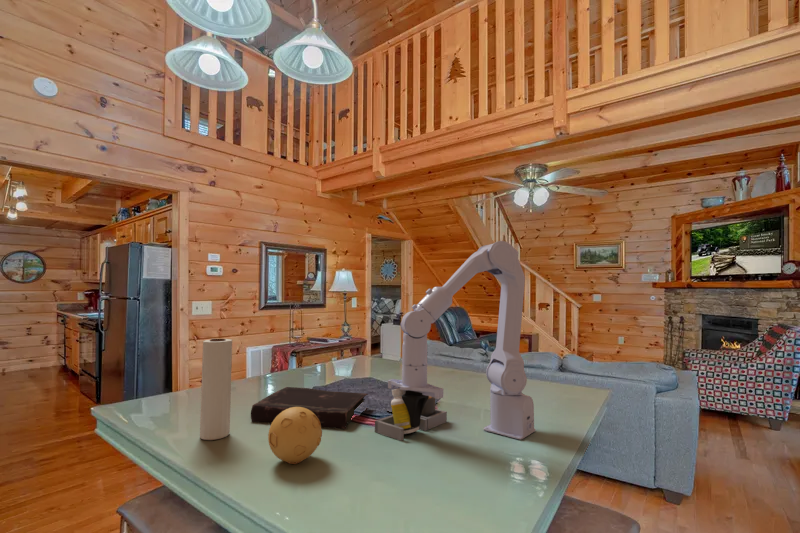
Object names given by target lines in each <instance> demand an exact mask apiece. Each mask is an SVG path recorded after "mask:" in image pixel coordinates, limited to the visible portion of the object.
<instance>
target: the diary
mask: <svg viewBox="0 0 800 533" xmlns="http://www.w3.org/2000/svg"><path fill="white" fill-rule="evenodd" d="M367 396H369V394H368V393H364V392H363V393H362V392H361V393H360V392H345V391H332V390H330V391H329V390H322V389H318V388H317V389H316V388H315V389H314V388H311V387H295V386H294V387H293V386H284V387H283V388H281V389H279V390H277V391H274V393H271V394H269V395H267V396H266V397H264V398H263V399H261V400H259V401H258V402H255V403H253V404H252V406H251V410H250V420H251V422H255V423H266V424H267V423H269V424H272V422H273V420H274V419H275V418H276V417H277V415H279V414H280V413H281V412H282V411H284V410H286V409H288V408H292V407H303V408H306V409H309V410H310V411H312V412H313V413H314V414H315V415H316V416H317V418H318V419H319V421H320V423H321V428H328V429H339V430H347V429H348V428H347V426H348V424H350V423H351V421H352V420H351V418H352V416H353V415H354V410H355V409H356V408H357V407H358V406H359V405H360V404H361V403H362V402H364V403H365V400H366V398H365V397H367Z"/></svg>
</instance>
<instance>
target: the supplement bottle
mask: <svg viewBox="0 0 800 533" xmlns="http://www.w3.org/2000/svg"><path fill="white" fill-rule="evenodd" d="M405 393H406V391H404V390H401V389H400V388H399V389H391V394H392V397H393V399H391V402H390V406H391V407H390V408H392V415H393V418H394V424H395V426H398V427H401V428H404V435H407V434H411V433H414V432H417V431H419V430H420V429H419V426H417V427H411V425H410V417H409V413H408V410H407V407H406V405H405V403H404V401H403V399H402V395H404V394H405Z"/></svg>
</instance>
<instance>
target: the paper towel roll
mask: <svg viewBox="0 0 800 533" xmlns="http://www.w3.org/2000/svg"><path fill="white" fill-rule="evenodd" d="M232 359H233V339H229V338H210V339H206V340H203V341H202V361H201V362H202V363H201V364H202V365H201V387H200V388H201V392H200V417H199V418H200V420H199V422H200V424H199V438H200V439H202V440H204V441H213V440H214V441H215V440H220V439H223V438H226V437H227V436H229V435H230V431H231V430H230V429H231V398H232V368H233V367H232V362H233V360H232Z"/></svg>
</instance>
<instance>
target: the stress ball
mask: <svg viewBox="0 0 800 533" xmlns="http://www.w3.org/2000/svg"><path fill="white" fill-rule="evenodd" d="M267 436H268V437H267V439H268V440H267V441H268V445H269V448H270V450H271V451H272V453H273V454H274V455H275V457H276V458H278V459H279V460H281V461H283V462H286V463H287V464H291V465H296V464H300V463H302V461H304V460H306V459H308V458H310V457H311V456H312V454H314V452H315V451H317V449H318V447H319V445H320V444H321V442H322V436H323V430H322V427H321V423H320V421H319V419H318V418H317V416H316V415H315V414H314V413H313V412H312V411H310V410H309V409H306V408H303V407H292V408H288V409H286V410H284V411H282V412H281V413H280V414H279V415H277V417H276V418H275V419H274V420H273V422H272V423H270V427H269V430H268V434H267Z"/></svg>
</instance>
